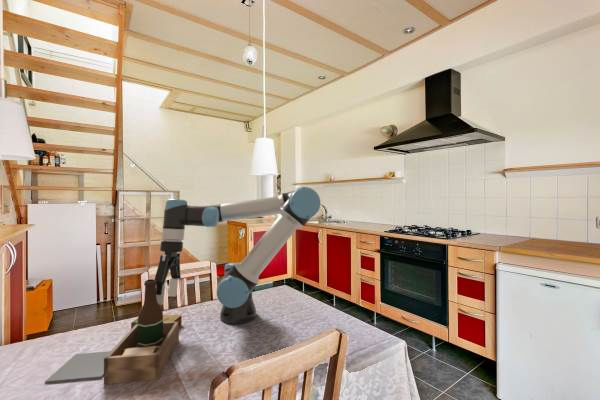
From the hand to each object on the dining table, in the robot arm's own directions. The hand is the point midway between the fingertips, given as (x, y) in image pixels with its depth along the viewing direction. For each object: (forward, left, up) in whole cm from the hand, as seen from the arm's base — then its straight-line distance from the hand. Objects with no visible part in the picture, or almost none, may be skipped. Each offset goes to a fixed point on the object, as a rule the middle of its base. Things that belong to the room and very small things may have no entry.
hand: (165, 300), depth 103 cm
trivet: (+18, +14, -14) cm, 27 cm away
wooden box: (+2, +13, -14) cm, 19 cm away
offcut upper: (+2, +20, -11) cm, 23 cm away
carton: (+6, -10, -15) cm, 18 cm away
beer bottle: (+2, +9, -14) cm, 17 cm away
